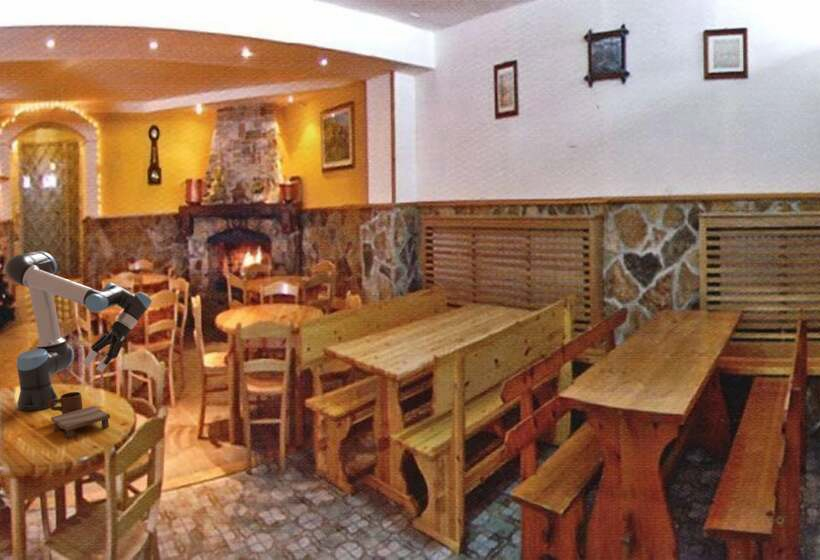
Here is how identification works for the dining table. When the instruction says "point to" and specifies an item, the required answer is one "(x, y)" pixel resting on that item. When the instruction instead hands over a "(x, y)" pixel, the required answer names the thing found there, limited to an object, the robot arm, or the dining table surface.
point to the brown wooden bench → (80, 419)
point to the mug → (67, 402)
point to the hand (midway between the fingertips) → (91, 367)
